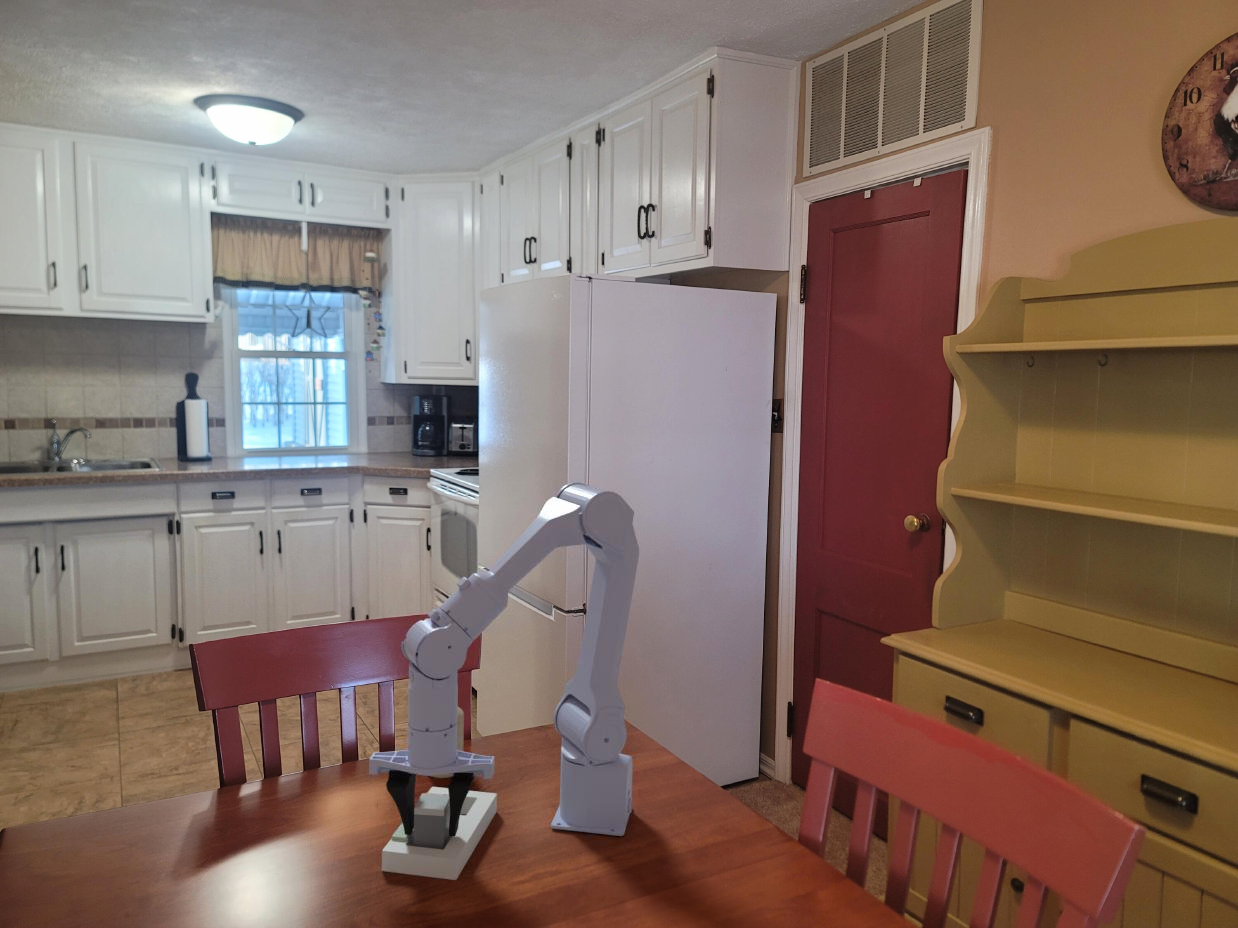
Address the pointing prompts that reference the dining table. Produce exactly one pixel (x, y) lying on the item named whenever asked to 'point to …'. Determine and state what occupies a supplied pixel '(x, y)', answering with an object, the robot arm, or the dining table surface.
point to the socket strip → (457, 851)
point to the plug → (432, 821)
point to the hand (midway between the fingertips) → (431, 831)
